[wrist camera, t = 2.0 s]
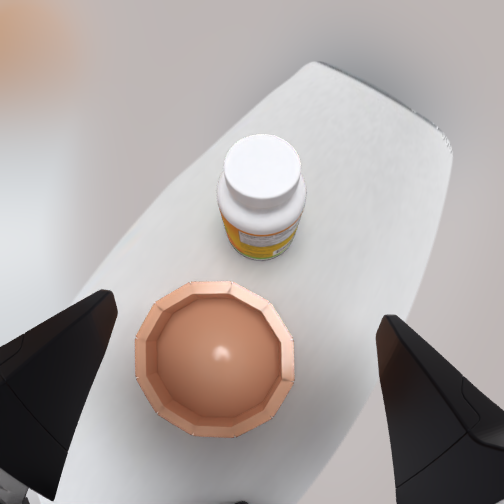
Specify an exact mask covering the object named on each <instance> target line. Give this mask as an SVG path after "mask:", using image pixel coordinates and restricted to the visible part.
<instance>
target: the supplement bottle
mask: <svg viewBox="0 0 504 504" xmlns="http://www.w3.org/2000/svg"><path fill="white" fill-rule="evenodd" d="M306 194H307V191H306V184H305V180H304V177H303V175H302V173H301V161H300V158H299V155H298V153H297V152H296V150H295V149H294V148H293V146H292V145H291V144H289V143H288V142H287V141H285V140H284V139H281V138H279V137H277V136H273V135H268V134H255V135H251V136H248V137H245V138H243V139H241V140H239V141H238V142H236V143H235V144H234V145H233V146H232V147H231V148H230V149H229V151H228V152H227V154H226V157H225V160H224V170H223V172H222V173H221V175H220V177H219V180H218V184H217V201H218V206H219V209H220V212H221V216H222V219H223V222H224V226H225V229H226V233H227V236H228V238H229V241H230V243H231V244H232V246H233V247H234V248H235V249H236V250H237V251H238V252H239V253H240V254H242V255H243V256H245V257H248V258H251V259H255V260H267V259H271V258H274V257H276V256H278V255H280V254H282V253H283V252H284V251H285V250H286V249H287V248H288V247H289V245H290V244H291V242H292V240H293V238H294V235H295V232H296V230H297V227H298V224H299V221H300V218H301V215H302V212H303V209H304V206H305V201H306Z"/></svg>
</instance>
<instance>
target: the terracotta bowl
mask: <svg viewBox="0 0 504 504" xmlns="http://www.w3.org/2000/svg"><path fill="white" fill-rule="evenodd" d="M269 302H270V301H268V300H266V299H264V298H262V297H260V296H258V295H257V294H255V293H253V292H251V291H249V290H247V289H246V288H244V287H242V286H240V285H238V284H236V283H235V282H233V283H232V282H231V281H214V282H191V283H187V284H185V285H183V286H182V287H180V288H178V289H177V290H175V291H173V292H172V293H170V294H168V295H166V296H165V297H163V298H161V299H160V300H158V301H156V304H155V303H154V304H153V306H152V308H151V310H150V311H149V313H148V315H147V317H146V318H145V320H144V322H143V324H142V326H141V327H140V329H139V331H138V333H137V335H136V337H137V338H138V339H135V374H136V377H139V378H137V379H136V380H137V381H138V383H139V385H140V387H141V389H142V390H143V392H144V394H145V396H146V397H147V399H148V401H149V402H150V404H151V406H152V407H153V409H154V411H155V412H156V413H157V412H158V414H157V415H159V416H161V417H162V418H164V419H165V420H167V421H168V422H170V423H172V424H173V425H175V426H177V427H178V428H180V429H182V430H183V431H185V432H187V433H188V434H190V435H192V434H194V436H202V437H224V438H234V436H236V437H238V436H240V435H242V434H244V433H246V432H248V431H250V430H252V429H254V428H255V427H257V426H259V425H261V424H263V423H265V422H267V421H269V420H270V419H272V417H274V415H275V414H276V412H277V411H278V409H279V407H280V406H281V404H282V402H283V401H284V399H285V397H286V396H287V394H288V392H289V390H290V389H291V387H292V385H293V384H294V382H293V381H294V340H291V339H293V337H292V336H291V334H290V332H289V331H288V329H287V328H286V326H285V324H284V323H283V321H282V320H281V318H280V316H279V315H278V313H277V312H276V310H275V308H274V307H273V305H272V303H270V304H269ZM271 416H272V417H271Z"/></svg>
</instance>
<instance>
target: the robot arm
mask: <svg viewBox="0 0 504 504" xmlns="http://www.w3.org/2000/svg"><path fill="white" fill-rule="evenodd" d="M117 314H118V310H117V306H116V302H115V298H114V295H113V292H112V291H110V290H103V289H101V290H99V291H97V292H95V293H94V294H92V295H90V296H88V297H86V298H85V299H83V300H81V301H79V302H77V303H76V304H74V305H72V306H70V307H69V308H67V309H65V310H63V311H62V312H60V313H58V314H56V315H55V316H53V317H51V318H49V319H48V320H46V321H44V322H43V323H41V324H39V325H37V326H36V327H34V328H32V329H31V330H29V331H27V332H26V333H25V334H22V335H21V336H19V337H17V338H16V339H14V340H12V341H10V342H9V343H7V344H5V345H3V346H1V347H0V504H30V503H29V501H28V498H27V497H26V494H27V491H28V488H30V489H31V490H33V491H35V492H37V493H38V494H40V495H42V496H44V497H45V498H47V499H49V500H51V501H54V499H55V495H56V492H57V488H58V484H59V481H60V477H61V474H62V470H63V467H64V464H65V460H66V457H67V454H68V450H69V447H70V444H71V441H72V438H73V435H74V432H75V429H76V426H77V424H78V421H79V418H80V415H81V413H82V410H83V407H84V404H85V402H86V399H87V397H88V394H89V391H90V389H91V386H92V384H93V381H94V379H95V376H96V374H97V371H98V369H99V367H100V364H101V362H102V359H103V357H104V355H105V352H106V349H107V346H108V343H109V340H110V337H111V333H112V330H113V327H114V324H115V321H116V318H117ZM376 346H377V356H378V367H379V377H380V383H381V389H382V394H383V400H384V405H385V411H386V417H387V423H388V430H389V436H390V444H391V450H392V459H393V467H394V476H395V487H396V502H397V504H504V411H503V410H502V409H501V408H500V407H499V406H497V405H496V404H495V403H493V402H492V401H491V400H490V399H489V398H488V397H486V396H485V395H484V394H483V393H482V392H481V391H479V390H478V389H477V388H476V387H475V386H474V385H473V384H472V383H471V382H470V381H468V380H467V379H466V378H465V377H464V376H463V375H462V374H461V373H460V372H459V371H458V370H457V369H456V368H455V367H454V366H452V365H451V364H450V363H449V362H448V361H447V360H446V359H445V358H444V357H443V356H442V355H440V354H439V353H438V352H437V351H436V350H435V349H434V348H433V347H432V346H431V345H429V344H428V343H427V342H426V341H425V340H424V339H423V338H422V337H421V336H420V335H418V334H417V333H416V332H415V331H414V330H413V329H411V328H410V327H409V326H408V325H407V324H406V323H405V322H404V321H402V320H401V319H400V318H399V317H398V316H397V315H384V316H383V318H382V320H381V323H380V325H379V328H378V330H377V333H376ZM236 504H248V503H247V502H243V501H242V502H238V503H236Z"/></svg>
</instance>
